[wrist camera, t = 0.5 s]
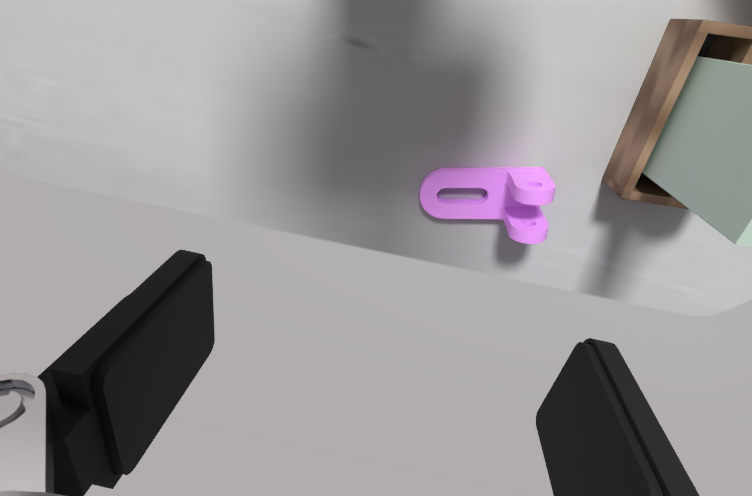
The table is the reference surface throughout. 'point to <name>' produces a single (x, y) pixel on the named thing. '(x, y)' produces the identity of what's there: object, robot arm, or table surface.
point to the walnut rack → (667, 100)
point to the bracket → (494, 198)
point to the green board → (710, 147)
